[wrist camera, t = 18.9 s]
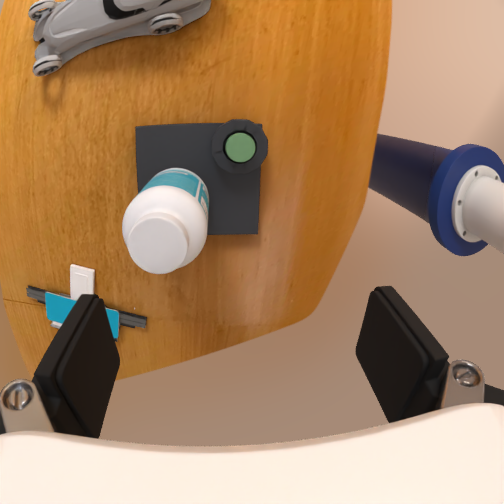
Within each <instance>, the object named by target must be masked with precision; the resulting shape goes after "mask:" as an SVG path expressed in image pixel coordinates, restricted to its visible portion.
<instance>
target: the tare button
mask: <svg viewBox="0 0 504 504" xmlns="http://www.w3.org/2000/svg"><path fill="white" fill-rule="evenodd" d="M225 148H226V152H227V155H228V156H229V158H230V159H232V160H233V161H236V162H245V161H248V160H249V159H250V158H251V157H252V156H253V155H254V153H255V143H254V141H253V139H252V138H251V137H250V136H248V135H246V134H244V133H236V134H233V135H231V136H230V137H229V138H228V140H227V142H226V146H225Z"/></svg>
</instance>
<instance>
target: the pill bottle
mask: <svg viewBox="0 0 504 504" xmlns="http://www.w3.org/2000/svg"><path fill="white" fill-rule="evenodd" d="M208 211H209V195H208V190H207V188H206V186H205V184H204V182H203V181H202V180H201V179H200V177H198V176H197V175H196V174H195V173H193V172H191V171H189V170H186V169H182V168H170V169H166V170H164V171H161V172H160V173H158V174H157V175H155V176H154V177H153V178H152V179H151V180H150V181H149V182H148V183H147V184H146V186H145V187H144V188H143V189H142V190H141V191H140V192H139V193H138V195H137V196H136V197H135V198H134V199H133V200H132V202H131V203H130V204H129V206H128V208H127V209H126V212H125V214H124V218H123V224H122V231H123V237H124V241H125V243H126V246H127V248H128V250H129V253H130V256H131V258H132V259H133V261H134V262H135V263H136V264H137V265H138V266H139V267H140V268H142V269H143V270H145V271H147V272H150V273H154V274H165V273H169V272H172V271H174V270H175V269H177V268H180V267H183V266H185V265H187V264H188V263H190V262H191V261H193V260H194V259H195V258H196V257H197V256H198V254H199V253H200V252H201V250H202V248H203V246H204V244H205V241H206V237H207V228H208Z"/></svg>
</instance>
